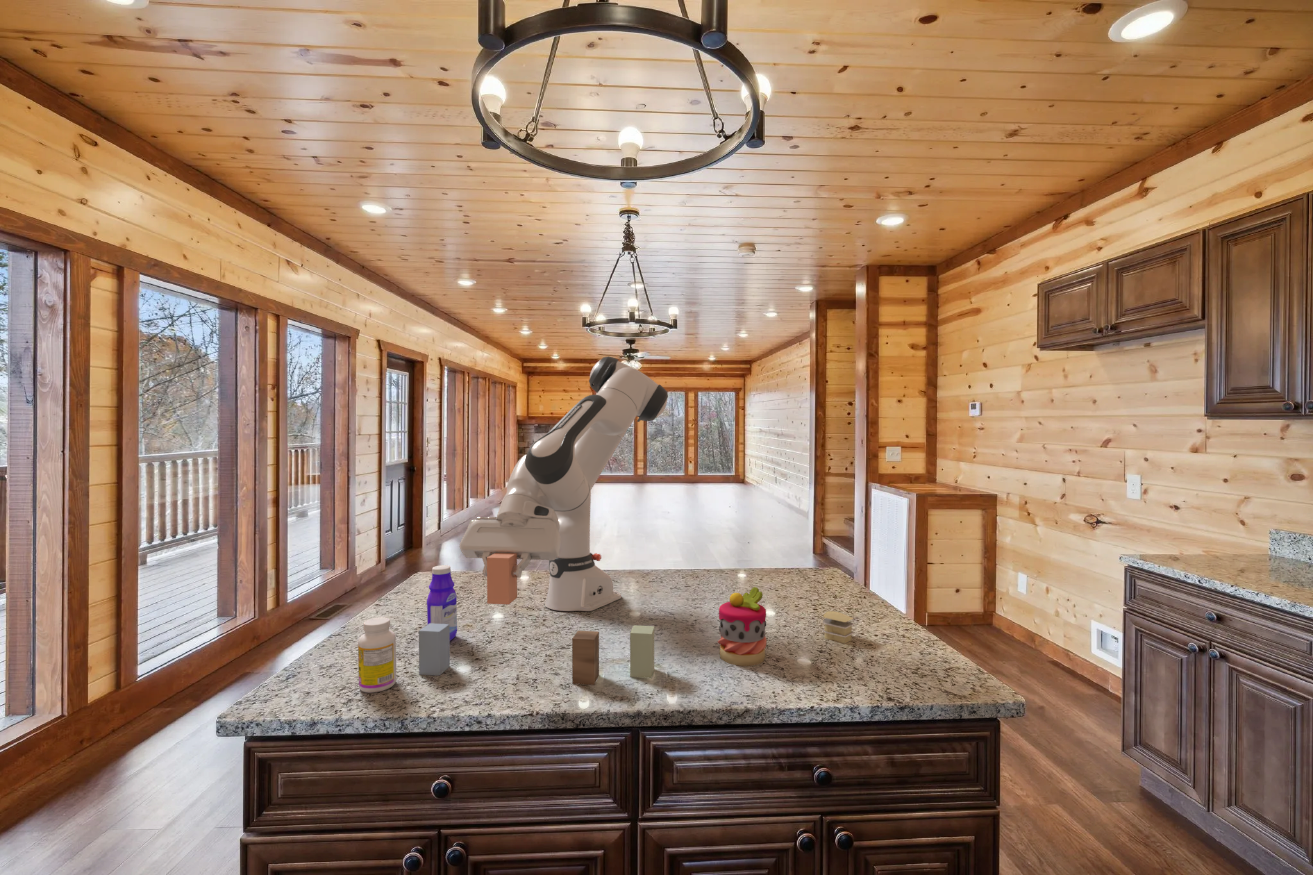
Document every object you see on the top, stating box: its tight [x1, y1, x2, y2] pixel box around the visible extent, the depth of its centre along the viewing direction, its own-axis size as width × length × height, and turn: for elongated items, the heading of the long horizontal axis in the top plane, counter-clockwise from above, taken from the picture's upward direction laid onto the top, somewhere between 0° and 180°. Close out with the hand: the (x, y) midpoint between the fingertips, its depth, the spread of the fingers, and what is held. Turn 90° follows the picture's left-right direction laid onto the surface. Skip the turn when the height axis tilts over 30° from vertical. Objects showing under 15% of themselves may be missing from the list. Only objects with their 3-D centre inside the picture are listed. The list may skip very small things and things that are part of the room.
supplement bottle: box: [357, 616, 397, 694], centre depth 113 cm, size 7×7×13 cm
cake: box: [717, 586, 768, 667], centre depth 127 cm, size 10×10×15 cm
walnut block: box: [571, 630, 600, 686], centre depth 116 cm, size 4×4×9 cm
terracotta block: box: [486, 553, 518, 605], centre depth 114 cm, size 4×4×9 cm
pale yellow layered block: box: [822, 610, 855, 644], centre depth 139 cm, size 10×9×6 cm
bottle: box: [426, 564, 458, 641], centre depth 137 cm, size 7×6×17 cm
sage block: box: [629, 625, 655, 679], centre depth 119 cm, size 4×4×9 cm
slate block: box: [418, 623, 451, 677], centre depth 120 cm, size 4×4×9 cm
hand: (501, 575), depth 114 cm, fingers closed on terracotta block, 4 cm apart
